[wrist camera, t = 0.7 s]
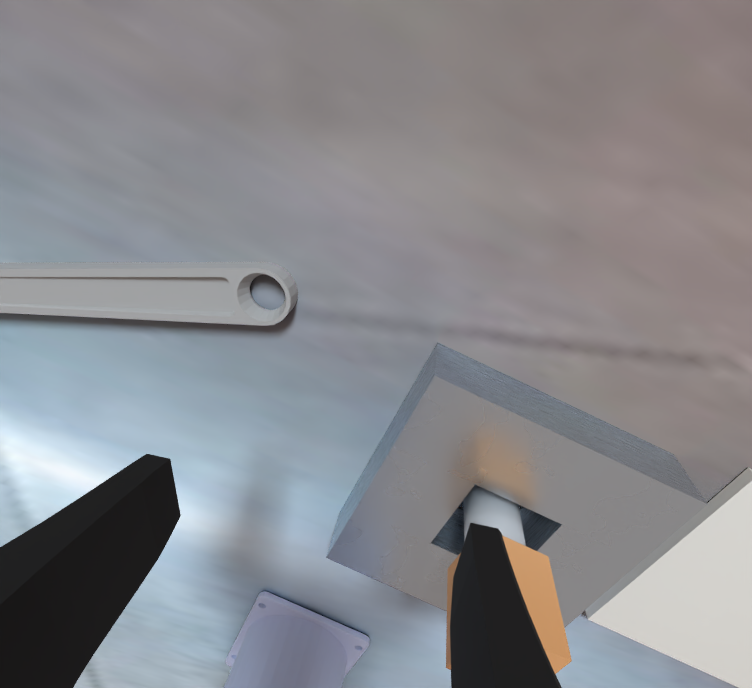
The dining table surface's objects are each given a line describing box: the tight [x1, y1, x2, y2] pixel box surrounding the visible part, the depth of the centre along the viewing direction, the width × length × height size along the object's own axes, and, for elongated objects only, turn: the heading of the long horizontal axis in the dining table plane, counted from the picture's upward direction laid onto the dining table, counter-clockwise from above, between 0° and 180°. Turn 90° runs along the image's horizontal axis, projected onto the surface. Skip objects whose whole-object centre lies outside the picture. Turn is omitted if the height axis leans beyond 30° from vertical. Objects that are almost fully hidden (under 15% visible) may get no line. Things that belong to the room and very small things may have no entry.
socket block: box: [326, 343, 707, 628], centre depth 21 cm, size 12×12×3 cm
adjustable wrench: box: [0, 262, 298, 326], centre depth 22 cm, size 25×6×2 cm, turn 87°
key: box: [446, 485, 572, 674], centre depth 19 cm, size 3×3×8 cm
